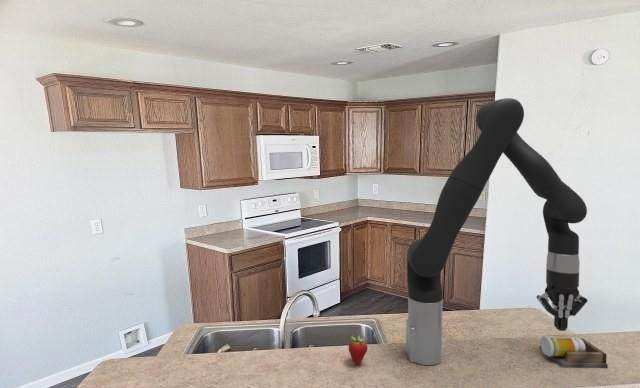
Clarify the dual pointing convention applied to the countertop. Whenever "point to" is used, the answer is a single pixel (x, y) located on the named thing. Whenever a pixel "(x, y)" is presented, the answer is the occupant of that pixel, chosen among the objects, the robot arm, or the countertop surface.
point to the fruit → (357, 349)
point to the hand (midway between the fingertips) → (560, 329)
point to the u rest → (582, 358)
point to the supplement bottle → (560, 345)
